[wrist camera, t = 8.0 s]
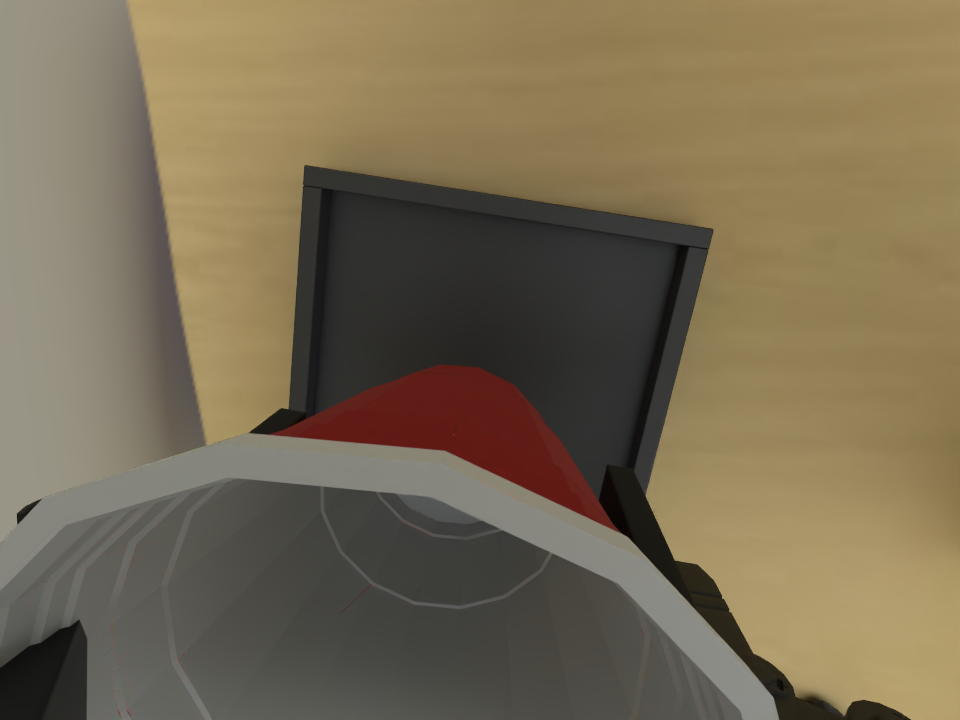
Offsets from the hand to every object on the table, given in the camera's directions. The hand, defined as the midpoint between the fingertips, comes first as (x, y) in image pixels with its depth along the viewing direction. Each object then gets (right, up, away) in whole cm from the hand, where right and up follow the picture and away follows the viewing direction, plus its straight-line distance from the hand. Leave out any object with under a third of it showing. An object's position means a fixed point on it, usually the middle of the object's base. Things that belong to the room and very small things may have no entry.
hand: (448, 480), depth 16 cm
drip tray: (+1, +3, +10) cm, 10 cm away
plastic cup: (0, +1, +2) cm, 2 cm away
